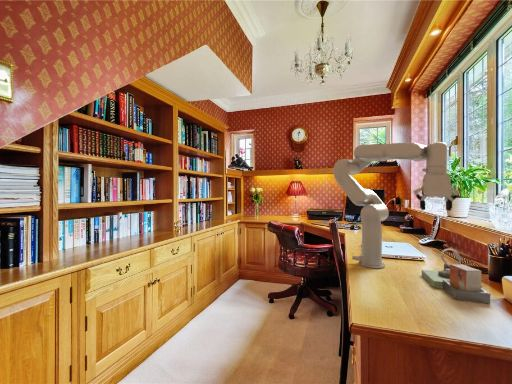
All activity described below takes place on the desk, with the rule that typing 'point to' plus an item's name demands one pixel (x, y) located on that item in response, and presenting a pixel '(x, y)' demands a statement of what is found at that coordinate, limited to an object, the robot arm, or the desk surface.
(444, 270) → the watch
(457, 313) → the desk surface
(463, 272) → the small box
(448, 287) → the grey tray
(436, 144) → the robot arm
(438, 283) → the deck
